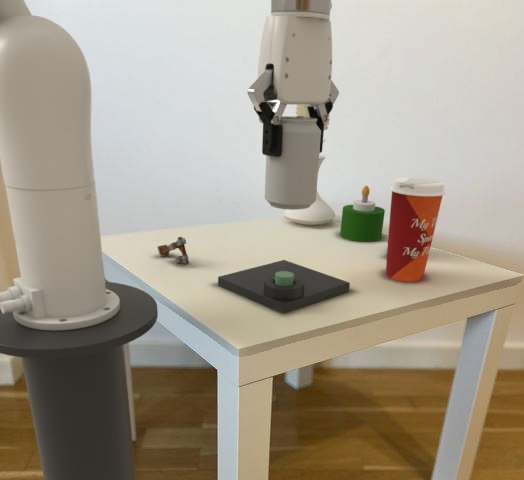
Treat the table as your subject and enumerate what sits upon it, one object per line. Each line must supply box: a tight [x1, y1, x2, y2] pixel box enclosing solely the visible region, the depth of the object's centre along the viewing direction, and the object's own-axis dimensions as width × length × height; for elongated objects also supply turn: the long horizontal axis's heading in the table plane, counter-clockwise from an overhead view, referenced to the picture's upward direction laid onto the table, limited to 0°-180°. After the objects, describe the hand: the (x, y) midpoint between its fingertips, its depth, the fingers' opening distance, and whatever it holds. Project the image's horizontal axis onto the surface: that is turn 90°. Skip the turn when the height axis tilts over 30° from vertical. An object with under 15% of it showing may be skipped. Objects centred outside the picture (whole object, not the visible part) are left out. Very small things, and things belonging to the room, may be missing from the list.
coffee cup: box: [385, 177, 446, 283], centre depth 86 cm, size 8×8×15 cm
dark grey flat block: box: [217, 259, 351, 314], centre depth 82 cm, size 14×14×3 cm
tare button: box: [275, 271, 294, 286], centre depth 76 cm, size 3×3×2 cm
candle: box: [339, 185, 386, 243], centre depth 109 cm, size 8×8×10 cm
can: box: [264, 115, 321, 210], centre depth 77 cm, size 8×8×12 cm
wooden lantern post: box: [156, 236, 190, 265], centre depth 92 cm, size 2×8×4 cm, turn 39°
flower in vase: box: [282, 104, 336, 226], centre depth 115 cm, size 13×11×25 cm
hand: (292, 152), depth 77 cm, fingers closed on can, 7 cm apart
